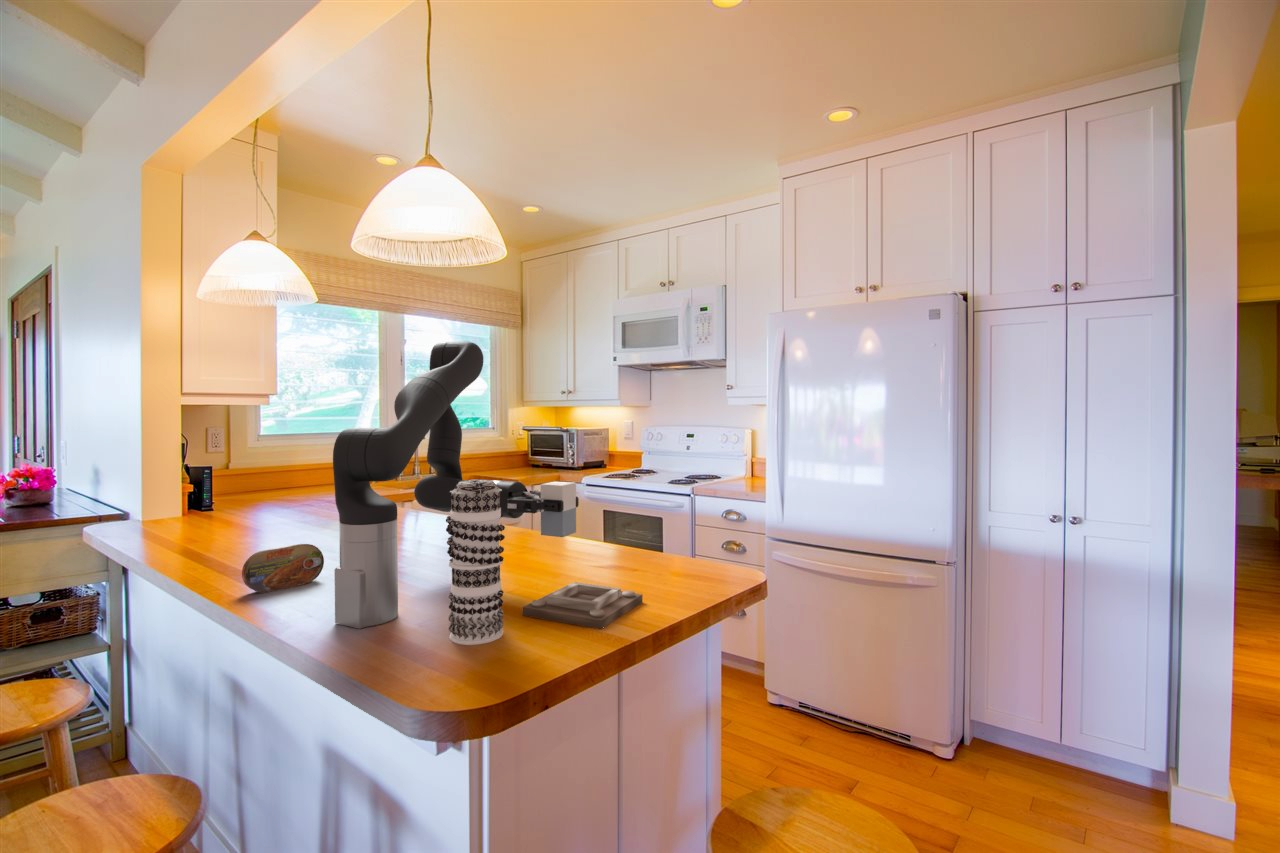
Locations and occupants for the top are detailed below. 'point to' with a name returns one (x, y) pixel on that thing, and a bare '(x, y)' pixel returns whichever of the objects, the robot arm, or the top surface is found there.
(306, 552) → the tin
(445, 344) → the robot arm
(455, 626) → the decorative candle
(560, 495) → the post
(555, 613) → the socket plate
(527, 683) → the top surface
